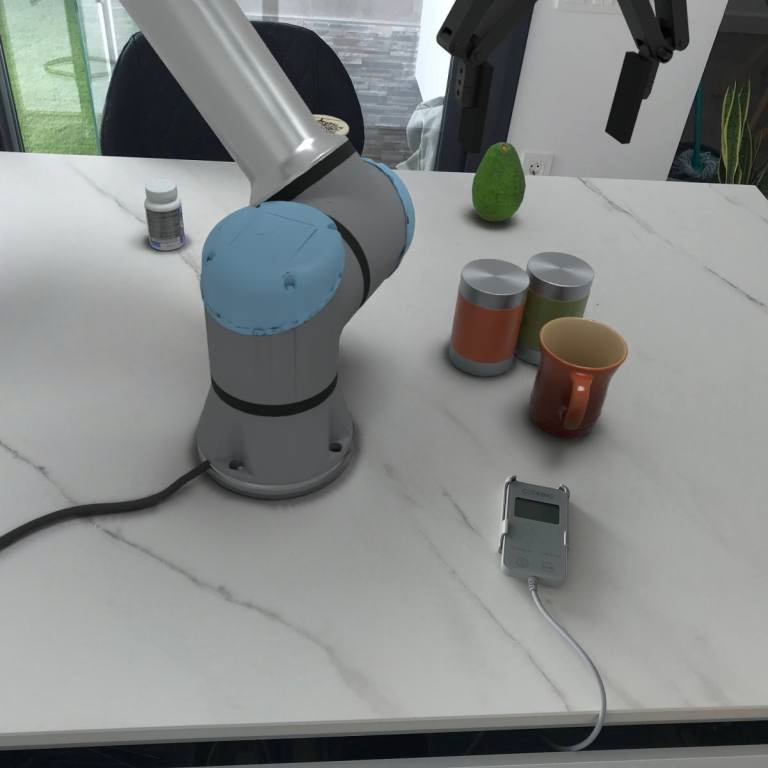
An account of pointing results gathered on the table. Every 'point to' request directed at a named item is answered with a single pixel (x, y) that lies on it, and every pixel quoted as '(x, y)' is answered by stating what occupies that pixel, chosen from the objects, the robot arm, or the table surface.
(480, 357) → the tins
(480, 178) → the fruit
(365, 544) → the table surface
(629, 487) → the table surface
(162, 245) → the pill bottle
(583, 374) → the mug
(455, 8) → the robot arm
